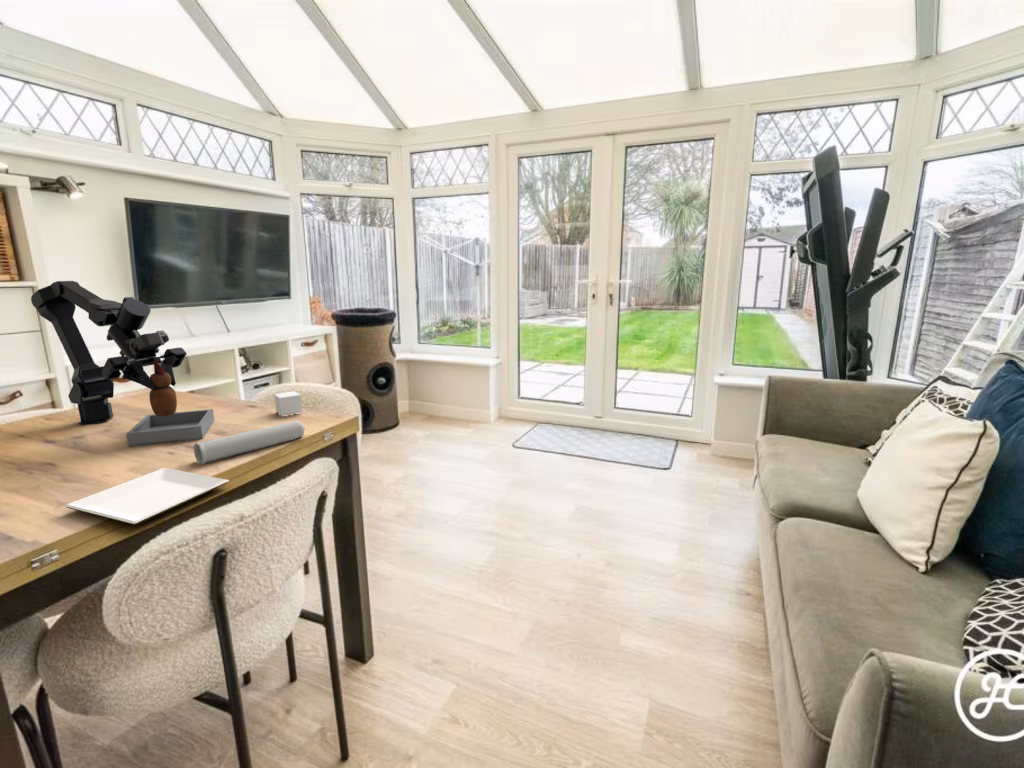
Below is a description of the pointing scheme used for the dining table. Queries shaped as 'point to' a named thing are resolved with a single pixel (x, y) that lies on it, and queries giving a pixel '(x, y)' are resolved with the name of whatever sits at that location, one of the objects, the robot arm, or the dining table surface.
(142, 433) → the box
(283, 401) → the light grey cube
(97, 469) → the dining table surface
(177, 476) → the plate
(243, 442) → the tube
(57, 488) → the dining table surface
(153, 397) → the wooden figurine
